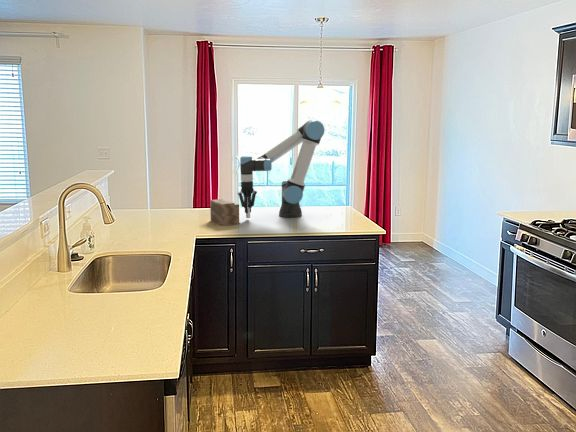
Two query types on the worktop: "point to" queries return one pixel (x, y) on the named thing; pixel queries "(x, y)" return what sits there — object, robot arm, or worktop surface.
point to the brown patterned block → (224, 212)
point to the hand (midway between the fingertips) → (248, 217)
